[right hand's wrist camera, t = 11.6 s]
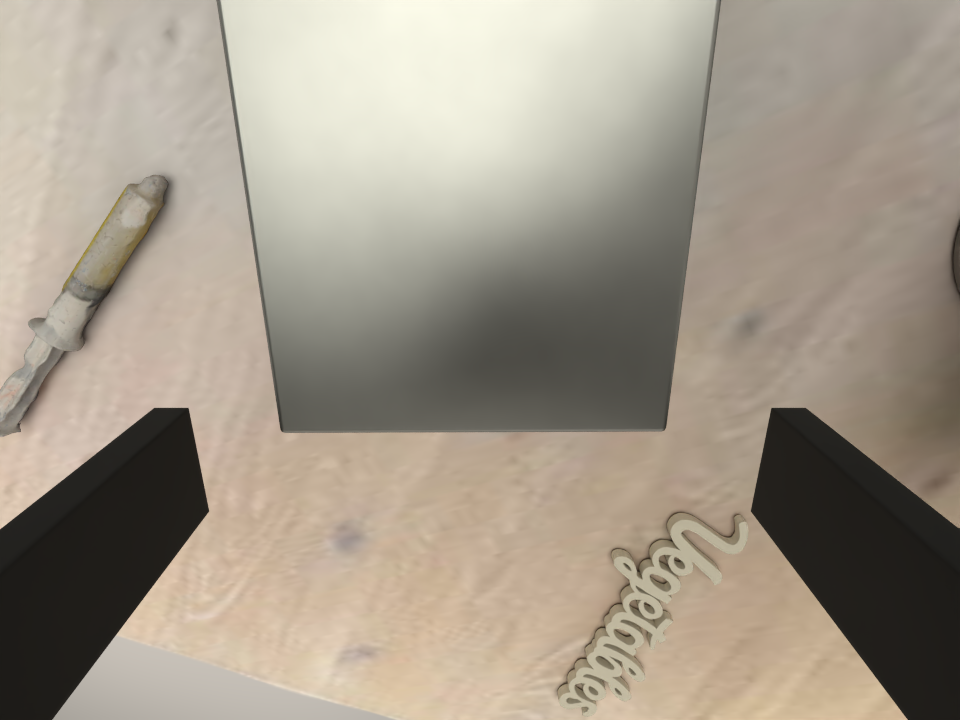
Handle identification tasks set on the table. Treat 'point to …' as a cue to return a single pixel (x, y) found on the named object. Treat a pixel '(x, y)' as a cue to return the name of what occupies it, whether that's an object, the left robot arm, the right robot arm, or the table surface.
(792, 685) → the table surface
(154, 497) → the right robot arm
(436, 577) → the table surface
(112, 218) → the syringe
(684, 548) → the decorative sign
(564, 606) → the table surface
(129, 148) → the table surface
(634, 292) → the bar
